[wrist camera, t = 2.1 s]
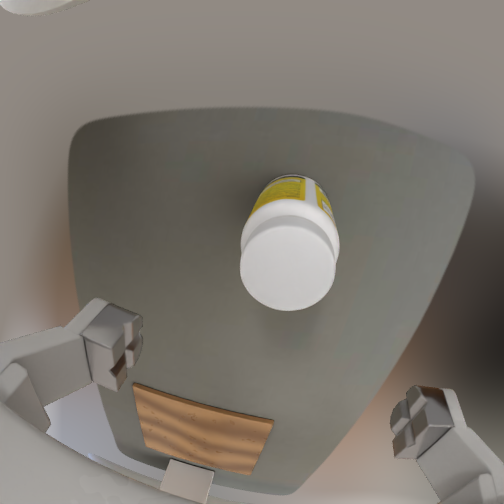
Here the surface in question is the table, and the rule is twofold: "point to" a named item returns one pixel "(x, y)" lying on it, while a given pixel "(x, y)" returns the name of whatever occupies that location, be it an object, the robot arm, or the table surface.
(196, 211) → the table surface
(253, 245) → the supplement bottle
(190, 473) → the milk carton
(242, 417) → the wooden board
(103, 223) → the table surface
